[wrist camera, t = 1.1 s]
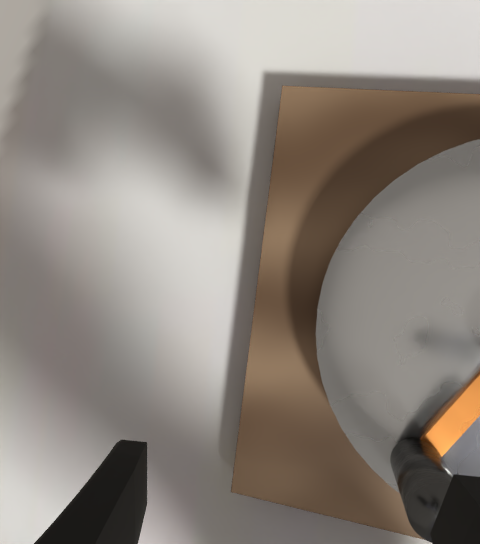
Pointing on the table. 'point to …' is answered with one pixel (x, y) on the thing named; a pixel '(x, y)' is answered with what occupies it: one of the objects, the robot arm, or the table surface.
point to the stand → (308, 281)
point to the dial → (409, 331)
